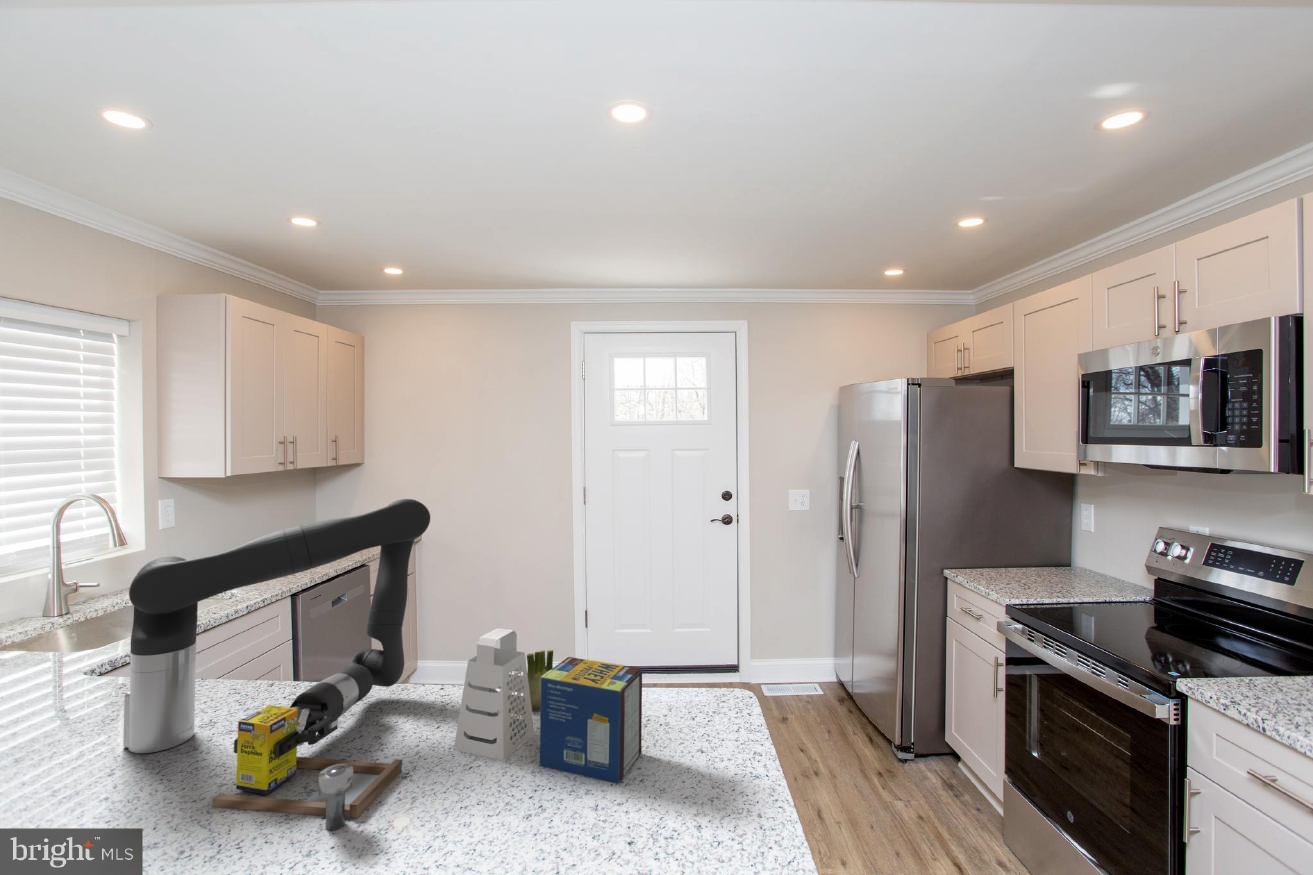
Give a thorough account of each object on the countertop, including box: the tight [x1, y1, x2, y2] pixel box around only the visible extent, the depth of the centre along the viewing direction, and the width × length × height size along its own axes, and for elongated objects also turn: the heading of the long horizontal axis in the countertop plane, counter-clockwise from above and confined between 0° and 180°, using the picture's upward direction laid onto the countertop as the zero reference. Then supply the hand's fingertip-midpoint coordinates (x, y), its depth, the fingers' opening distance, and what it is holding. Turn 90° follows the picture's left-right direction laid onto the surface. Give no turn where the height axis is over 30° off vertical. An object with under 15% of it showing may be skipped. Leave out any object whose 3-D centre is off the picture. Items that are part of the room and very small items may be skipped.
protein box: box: [538, 656, 643, 784], centre depth 103 cm, size 10×15×16 cm
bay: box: [211, 756, 403, 819], centre depth 94 cm, size 23×12×2 cm, turn 84°
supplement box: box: [235, 704, 298, 795], centre depth 94 cm, size 6×6×11 cm
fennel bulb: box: [526, 649, 554, 711], centre depth 123 cm, size 6×5×12 cm
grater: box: [453, 627, 536, 762], centre depth 109 cm, size 10×10×20 cm
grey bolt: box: [317, 764, 354, 832], centre depth 85 cm, size 4×4×8 cm
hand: (256, 749), depth 92 cm, fingers closed on supplement box, 6 cm apart
